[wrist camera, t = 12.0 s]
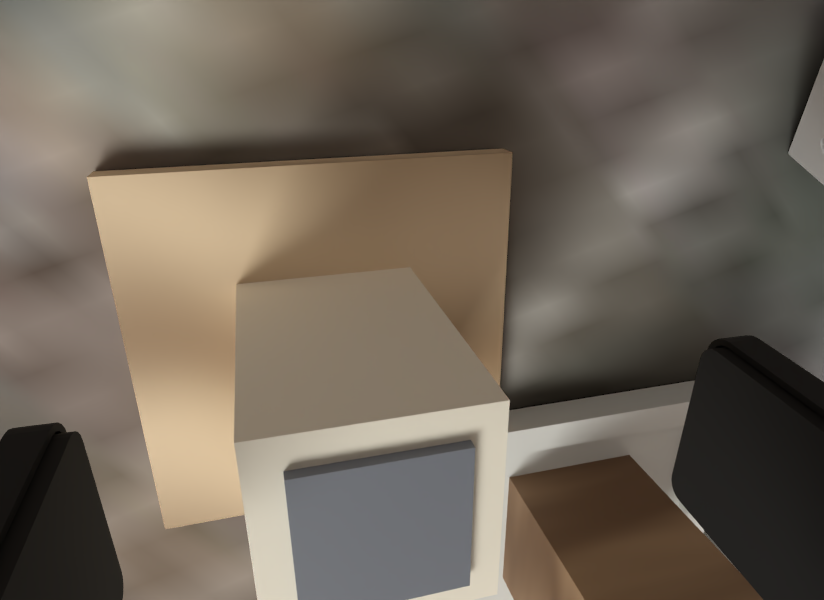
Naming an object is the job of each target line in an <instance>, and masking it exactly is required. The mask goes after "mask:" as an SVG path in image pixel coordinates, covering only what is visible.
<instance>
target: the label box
mask: <svg viewBox="0 0 824 600" xmlns="http://www.w3.org/2000/svg"><path fill="white" fill-rule="evenodd" d="M509 406H510V400H509V398H508V397H507V396H506V394H505V393H504V392H503V390H502V389H501V388H500V386H499V385H498V384H497V382H496V381H495V380H494V378H493V377H492V376H491V374H490V373H489V372H488V370H487V369H486V368H485V366H484V365H483V364H482V362H481V361H480V360H479V358H478V357H477V356H476V354H475V353H474V352H473V350H472V349H471V348H470V346H469V345H468V344H467V342H466V341H465V340H464V338H463V337H462V336H461V334H460V333H459V332H458V330H457V329H456V328H455V326H454V325H453V324H452V322H451V321H450V320H449V318H448V317H447V316H446V314H445V313H444V312H443V310H442V309H441V308H440V306H439V305H438V304H437V302H436V301H435V300H434V298H433V297H432V296H431V294H430V293H429V292H428V290H427V289H426V288H425V286H424V285H423V284H422V282H421V281H420V280H419V278H418V277H417V276H416V274H415V273H414V272H413V270H412V269H411V268H410V267H406V268H396V269H386V270H376V271H365V272H355V273H345V274H335V275H324V276H314V277H304V278H294V279H284V280H273V281H263V282H253V283H243V284H236V333H235V403H234V447H235V453H236V460H237V467H238V473H239V480H240V487H241V493H242V500H243V507H244V513H245V520H246V527H247V533H248V540H249V547H250V553H251V560H252V567H253V573H254V580H255V586H256V593H257V600H475V599H479V598H483V597H487V596H492V595H496V594H497V591H498V576H499V560H500V545H501V529H502V514H503V499H504V483H505V468H506V452H507V437H508V421H509Z"/></svg>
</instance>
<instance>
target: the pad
mask: <svg viewBox="0 0 824 600" xmlns="http://www.w3.org/2000/svg"><path fill="white" fill-rule="evenodd" d="M512 155H513V153H512V152H510V151H508V150H505V149H503V148H502V149H484V150H466V151H449V152H431V153H413V154H395V155H377V156H359V157H341V158H323V159H306V160H288V161H270V162H252V163H234V164H216V165H198V166H181V167H163V168H145V169H127V170H109V171H93V172H92V173H91V174H90V175H89V176H88V177H87V180H88V184H89V189H90V193H91V198H92V202H93V207H94V211H95V216H96V220H97V225H98V229H99V234H100V238H101V243H102V247H103V252H104V256H105V261H106V265H107V270H108V274H109V279H110V283H111V288H112V292H113V297H114V301H115V306H116V310H117V315H118V319H119V324H120V328H121V333H122V337H123V342H124V346H125V351H126V355H127V360H128V364H129V369H130V373H131V378H132V382H133V387H134V391H135V396H136V400H137V405H138V409H139V414H140V418H141V423H142V427H143V432H144V436H145V441H146V445H147V450H148V454H149V459H150V463H151V468H152V472H153V477H154V481H155V486H156V490H157V495H158V499H159V504H160V508H161V513H162V517H163V522H164V526H165V529H169V528H175V527H180V526H186V525H191V524H196V523H202V522H207V521H213V520H218V519H224V518H229V517H235V516H240V515H245V513H244V507H243V500H242V493H241V487H240V480H239V473H238V467H237V460H236V453H235V447H234V403H235V333H236V284H243V283H253V282H263V281H273V280H284V279H294V278H304V277H314V276H324V275H335V274H345V273H355V272H365V271H376V270H386V269H396V268H406V267H410V268H411V269H412V270H413V272H414V273H415V274H416V276H417V277H418V278H419V280H420V281H421V282H422V284H423V285H424V286H425V288H426V289H427V290H428V292H429V293H430V294H431V296H432V297H433V298H434V300H435V301H436V302H437V304H438V305H439V306H440V308H441V309H442V310H443V312H444V313H445V314H446V316H447V317H448V318H449V320H450V321H451V322H452V324H453V325H454V326H455V328H456V329H457V330H458V332H459V333H460V334H461V336H462V337H463V338H464V340H465V341H466V342H467V344H468V345H469V346H470V348H471V349H472V350H473V352H474V353H475V354H476V356H477V357H478V358H479V360H480V361H481V362H482V364H483V365H484V366H485V368H486V369H487V370H488V372H489V373H490V374H491V376H492V377H493V378H494V380H495V381H496V382H497V384H498V385H499V386H500V376H501V357H502V339H503V321H504V302H505V284H506V265H507V247H508V229H509V210H510V192H511V173H512Z"/></svg>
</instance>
